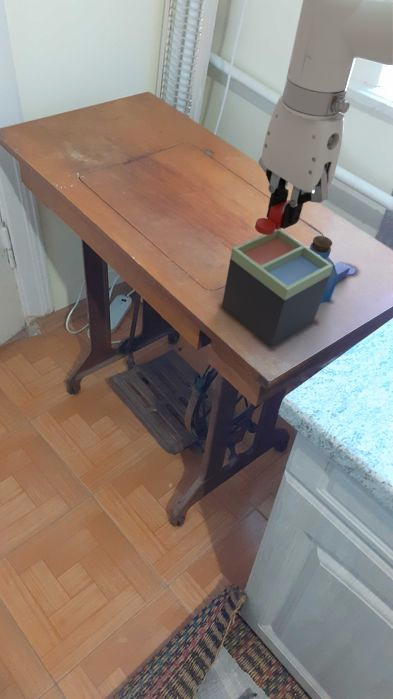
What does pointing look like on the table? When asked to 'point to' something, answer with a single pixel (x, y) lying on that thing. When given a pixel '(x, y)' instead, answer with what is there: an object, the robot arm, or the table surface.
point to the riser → (269, 306)
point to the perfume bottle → (323, 249)
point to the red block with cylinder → (271, 219)
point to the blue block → (344, 270)
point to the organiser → (281, 263)
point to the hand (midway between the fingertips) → (281, 219)
